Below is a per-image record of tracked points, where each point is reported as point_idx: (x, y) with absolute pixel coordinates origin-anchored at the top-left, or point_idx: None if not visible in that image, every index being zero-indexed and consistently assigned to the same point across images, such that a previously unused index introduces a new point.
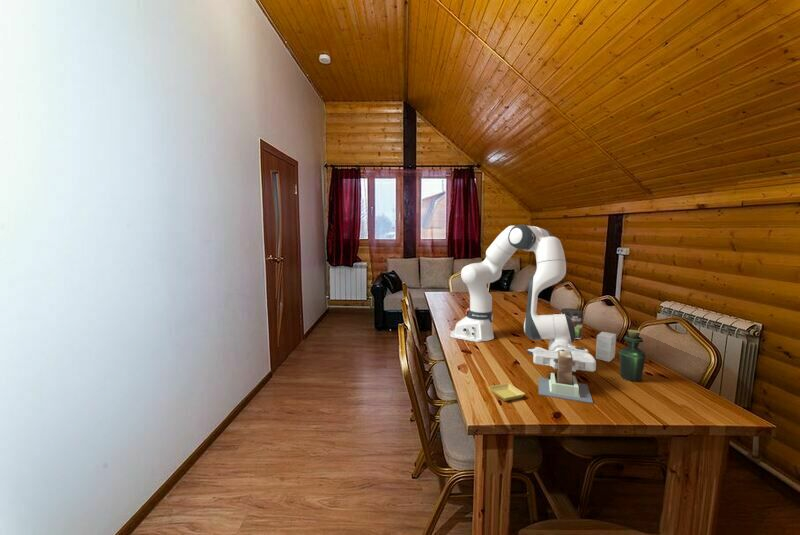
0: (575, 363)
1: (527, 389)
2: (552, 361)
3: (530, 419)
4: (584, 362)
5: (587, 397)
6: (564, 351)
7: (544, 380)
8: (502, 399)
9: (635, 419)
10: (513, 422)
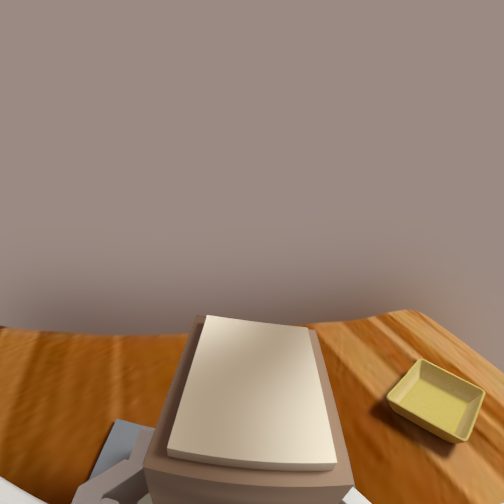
0: (109, 499)
1: (396, 475)
2: (358, 494)
3: (333, 331)
4: (10, 485)
5: (119, 456)
6: (258, 456)
7: None
8: (426, 379)
9: (44, 346)
10: (360, 319)
